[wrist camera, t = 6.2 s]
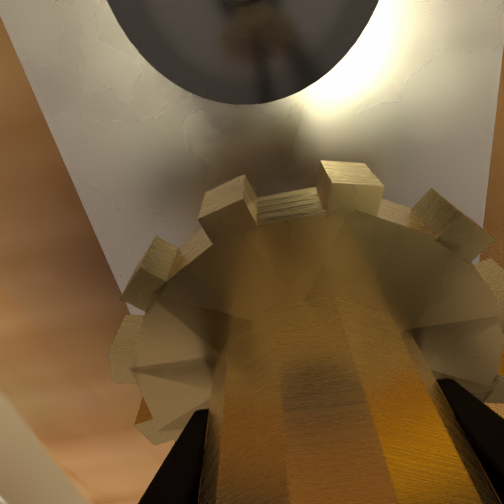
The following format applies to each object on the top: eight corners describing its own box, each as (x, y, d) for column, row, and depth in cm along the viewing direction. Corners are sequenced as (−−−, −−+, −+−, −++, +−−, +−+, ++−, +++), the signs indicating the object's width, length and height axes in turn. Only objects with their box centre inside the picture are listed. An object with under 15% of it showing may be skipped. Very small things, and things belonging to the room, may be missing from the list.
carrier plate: (521, -401, 8) (854, -939, 4) (457, 323, 18) (527, 421, 13) (-75, -218, 9) (-375, -449, 5) (165, 364, 19) (139, 466, 15)
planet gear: (521, 122, 8) (1140, 324, 2) (477, 430, 13) (649, 735, 7) (66, 206, 9) (-242, 491, 3) (184, 464, 14) (137, 756, 8)
